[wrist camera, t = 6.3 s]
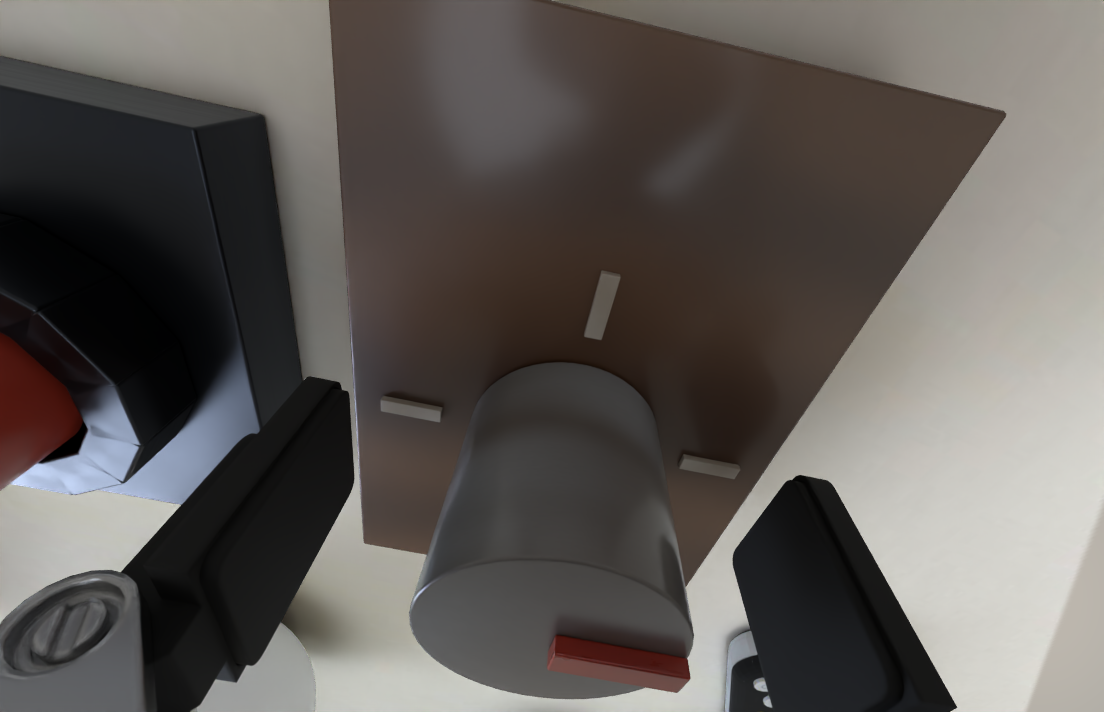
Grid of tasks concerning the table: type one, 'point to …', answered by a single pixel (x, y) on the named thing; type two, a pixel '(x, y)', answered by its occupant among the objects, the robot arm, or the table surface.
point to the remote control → (745, 678)
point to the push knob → (30, 412)
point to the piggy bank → (269, 681)
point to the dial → (557, 544)
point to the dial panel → (612, 232)
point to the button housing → (142, 276)
